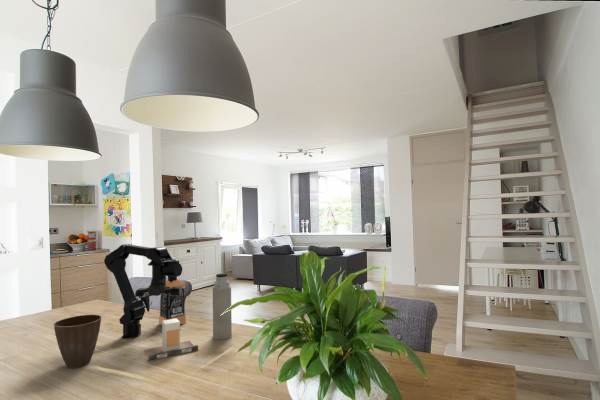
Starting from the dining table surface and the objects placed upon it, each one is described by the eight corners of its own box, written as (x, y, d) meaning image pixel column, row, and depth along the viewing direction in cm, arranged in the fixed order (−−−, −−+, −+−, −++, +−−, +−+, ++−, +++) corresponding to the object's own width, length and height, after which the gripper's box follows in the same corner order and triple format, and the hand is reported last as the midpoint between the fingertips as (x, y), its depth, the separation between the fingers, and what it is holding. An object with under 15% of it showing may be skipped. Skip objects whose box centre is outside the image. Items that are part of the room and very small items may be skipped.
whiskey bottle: (177, 319, 186) (177, 257, 187) (186, 323, 179) (186, 259, 181) (158, 324, 179) (157, 260, 180) (167, 328, 172) (166, 261, 173)
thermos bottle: (220, 334, 161) (220, 272, 162) (235, 336, 158) (234, 273, 159) (209, 340, 154) (208, 275, 155) (224, 342, 150) (223, 276, 151)
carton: (165, 355, 136) (165, 324, 136) (162, 350, 140) (162, 320, 141) (180, 351, 138) (180, 321, 139) (176, 347, 143) (176, 318, 144)
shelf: (149, 363, 130) (149, 356, 130) (143, 352, 141) (143, 345, 141) (198, 352, 140) (198, 345, 140) (189, 343, 151) (189, 336, 151)
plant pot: (50, 376, 121) (50, 329, 122) (56, 361, 134) (57, 318, 135) (100, 367, 128) (100, 322, 129) (101, 353, 141) (102, 312, 142)
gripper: (130, 279, 149) (130, 317, 149) (175, 278, 151) (176, 315, 150) (139, 275, 160) (139, 310, 160) (182, 273, 162) (182, 308, 161)
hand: (159, 311), depth 157 cm, fingers open, 9 cm apart
